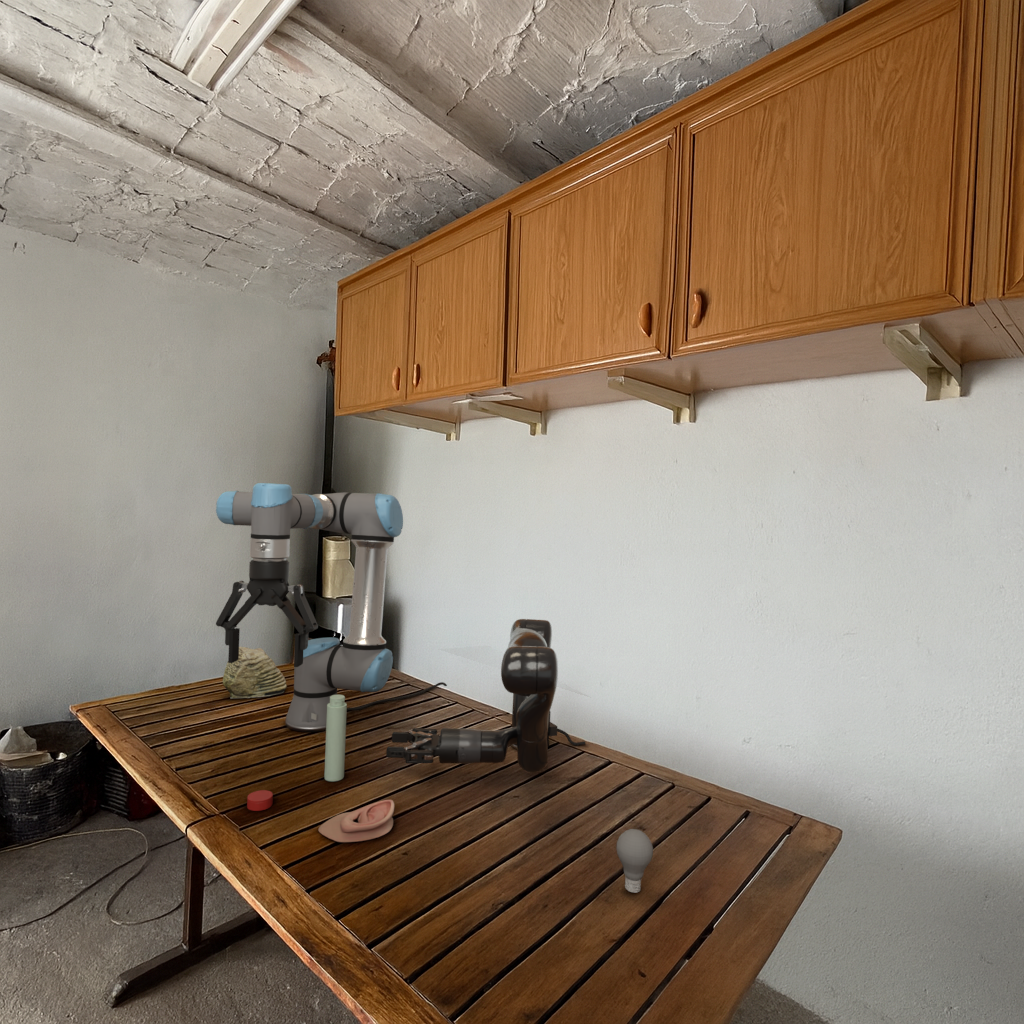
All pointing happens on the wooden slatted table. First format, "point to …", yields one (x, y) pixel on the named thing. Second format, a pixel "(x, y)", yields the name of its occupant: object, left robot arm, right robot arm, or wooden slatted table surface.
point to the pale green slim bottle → (335, 738)
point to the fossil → (253, 675)
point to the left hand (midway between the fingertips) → (265, 663)
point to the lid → (259, 800)
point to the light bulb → (634, 857)
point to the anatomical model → (360, 823)
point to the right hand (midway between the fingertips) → (389, 744)
